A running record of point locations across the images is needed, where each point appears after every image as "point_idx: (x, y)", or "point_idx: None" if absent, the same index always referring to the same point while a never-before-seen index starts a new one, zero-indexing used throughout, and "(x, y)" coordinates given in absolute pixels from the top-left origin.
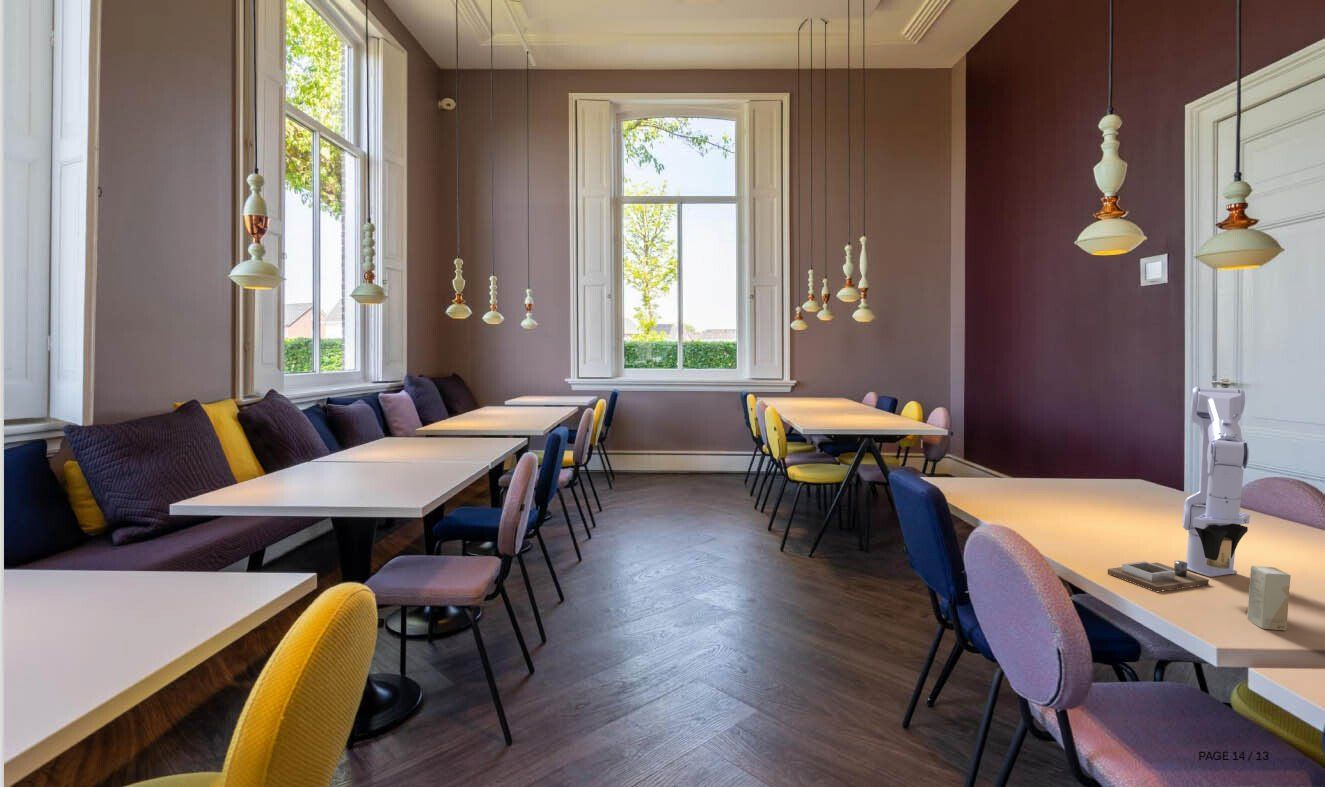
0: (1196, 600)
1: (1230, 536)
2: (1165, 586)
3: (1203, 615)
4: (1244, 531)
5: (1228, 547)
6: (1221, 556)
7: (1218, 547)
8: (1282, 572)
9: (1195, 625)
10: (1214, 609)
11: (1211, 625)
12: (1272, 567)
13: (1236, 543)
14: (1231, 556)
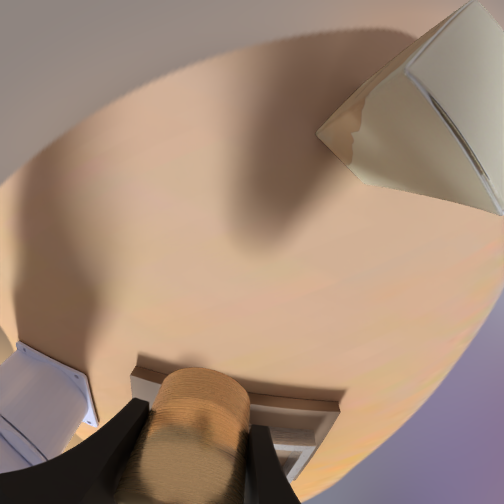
0: (317, 336)
1: (102, 501)
2: (311, 408)
3: (432, 268)
4: (25, 494)
5: (193, 465)
6: (236, 432)
7: (276, 485)
8: (484, 29)
9: (497, 246)
10: (359, 275)
11: (479, 225)
12: (434, 82)
13: (94, 452)
14: (136, 404)
